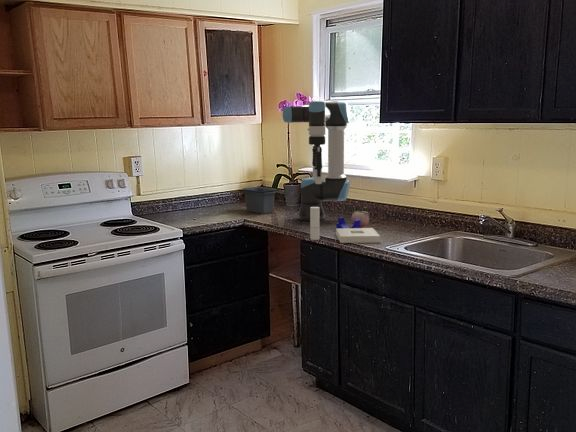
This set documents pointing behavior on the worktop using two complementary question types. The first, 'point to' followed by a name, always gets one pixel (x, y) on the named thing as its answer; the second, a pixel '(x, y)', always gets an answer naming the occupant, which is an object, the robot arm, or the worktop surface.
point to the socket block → (357, 235)
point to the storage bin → (259, 199)
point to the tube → (314, 223)
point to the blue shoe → (343, 225)
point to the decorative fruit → (360, 217)
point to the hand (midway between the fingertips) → (317, 182)
